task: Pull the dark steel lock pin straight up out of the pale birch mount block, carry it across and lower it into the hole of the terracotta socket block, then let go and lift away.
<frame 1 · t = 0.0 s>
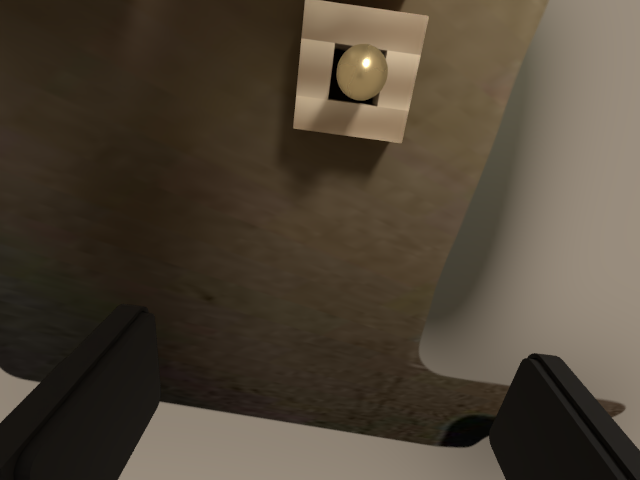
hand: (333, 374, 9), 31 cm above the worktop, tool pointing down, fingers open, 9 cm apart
pin: (357, 75, 30), in the mount
mount: (353, 77, 34), on the worktop
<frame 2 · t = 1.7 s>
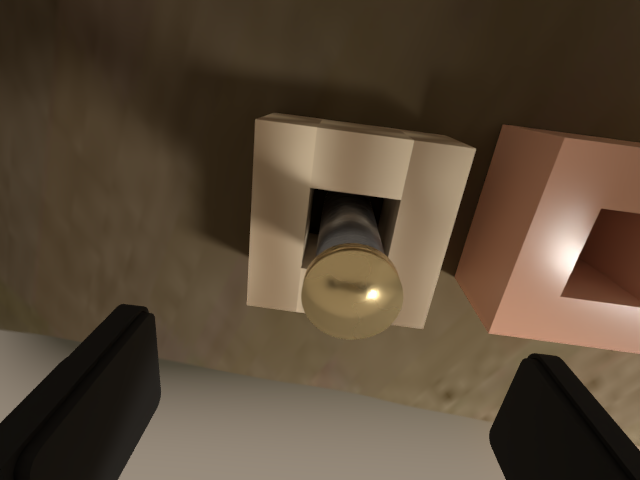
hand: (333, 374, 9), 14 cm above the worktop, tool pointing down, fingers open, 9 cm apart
pin: (348, 238, 17), in the mount
mount: (347, 205, 22), on the worktop
dock: (555, 218, 22), on the worktop
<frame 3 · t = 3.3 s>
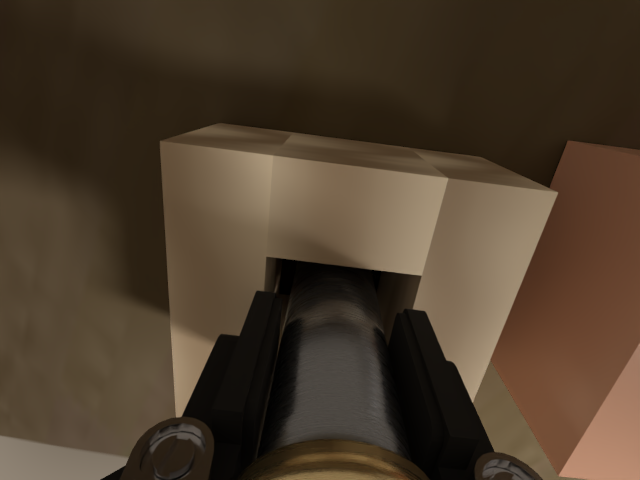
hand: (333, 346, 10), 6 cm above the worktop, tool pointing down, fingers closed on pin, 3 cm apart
pin: (333, 337, 10), in the mount, touching gripper
mount: (333, 257, 15), on the worktop
dock: (634, 273, 15), on the worktop
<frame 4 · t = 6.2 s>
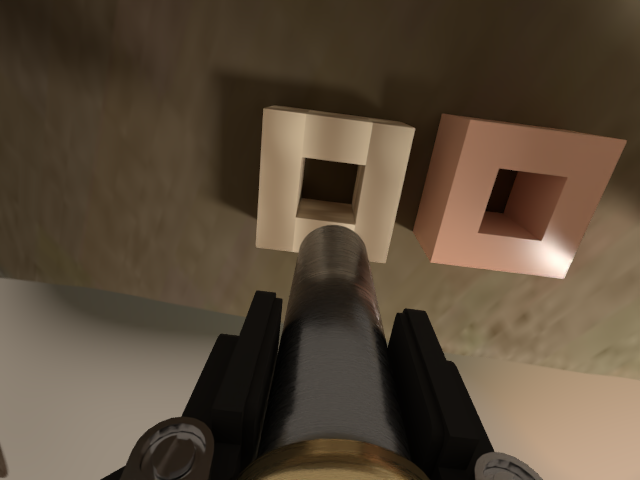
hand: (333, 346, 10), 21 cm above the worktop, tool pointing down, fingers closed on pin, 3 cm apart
pin: (332, 337, 10), point 21 cm above the worktop, touching gripper
mount: (329, 176, 29), on the worktop
dock: (485, 184, 29), on the worktop
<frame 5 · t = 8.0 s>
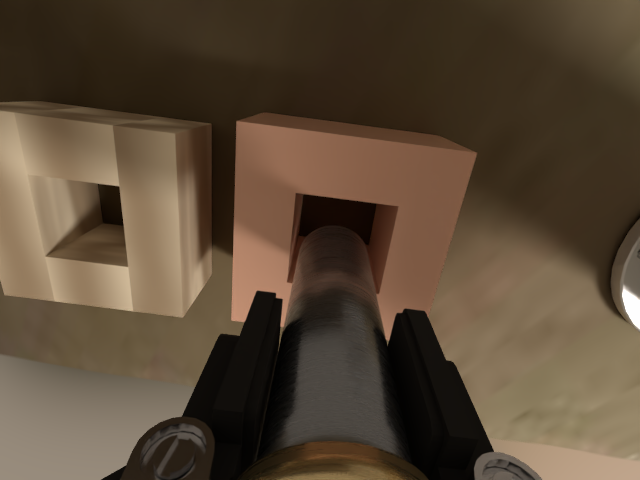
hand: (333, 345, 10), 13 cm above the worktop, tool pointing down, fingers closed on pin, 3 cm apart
pin: (333, 338, 10), point 13 cm above the worktop, touching gripper
mount: (133, 195, 22), on the worktop
dock: (338, 207, 22), on the worktop
when the fingers open (8 cm above the worktop, at t = 9.5 s): pin drops 2 cm, resting in dock.
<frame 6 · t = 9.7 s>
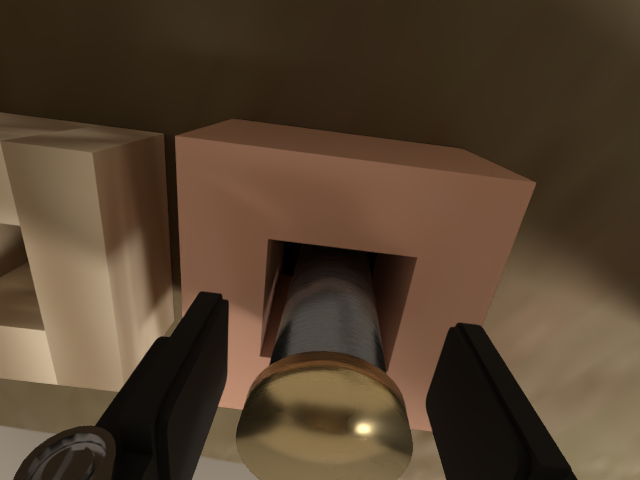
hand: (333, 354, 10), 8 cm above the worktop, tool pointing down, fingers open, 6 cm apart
pin: (331, 301, 12), in the dock
mount: (67, 225, 17), on the worktop
dock: (332, 239, 17), on the worktop
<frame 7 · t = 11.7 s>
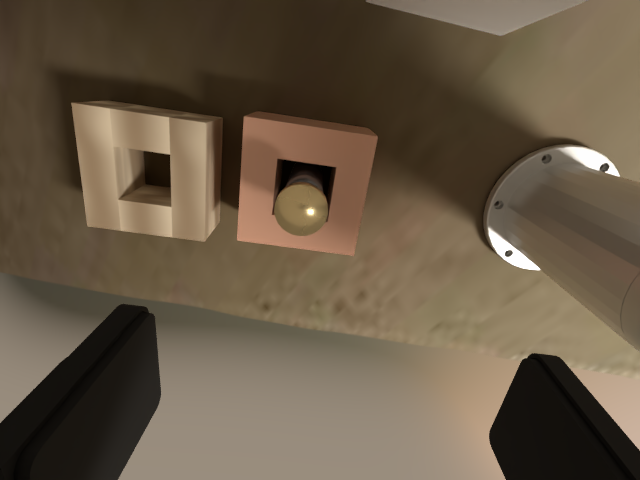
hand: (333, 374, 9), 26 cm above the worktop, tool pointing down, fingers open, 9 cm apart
pin: (304, 189, 28), in the dock
mount: (168, 165, 33), on the worktop
dock: (306, 174, 33), on the worktop
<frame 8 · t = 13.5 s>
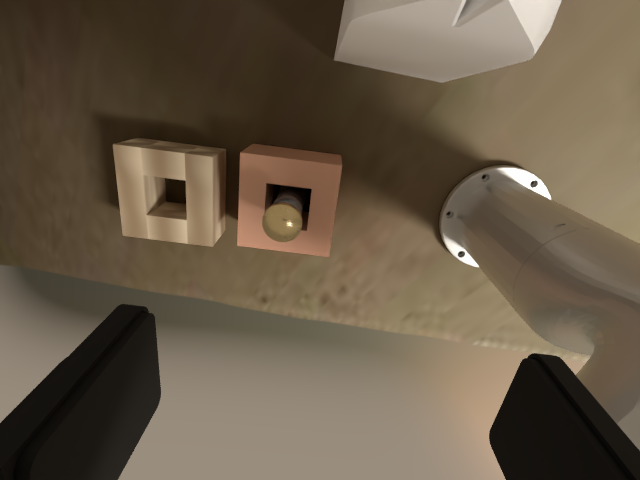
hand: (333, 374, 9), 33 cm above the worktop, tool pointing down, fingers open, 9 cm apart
pin: (288, 205, 36), in the dock
mount: (183, 186, 42), on the worktop
milk: (404, 4, 34), on the worktop
dock: (293, 191, 41), on the worktop
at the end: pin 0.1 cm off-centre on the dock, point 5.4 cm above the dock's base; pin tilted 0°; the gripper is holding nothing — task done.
